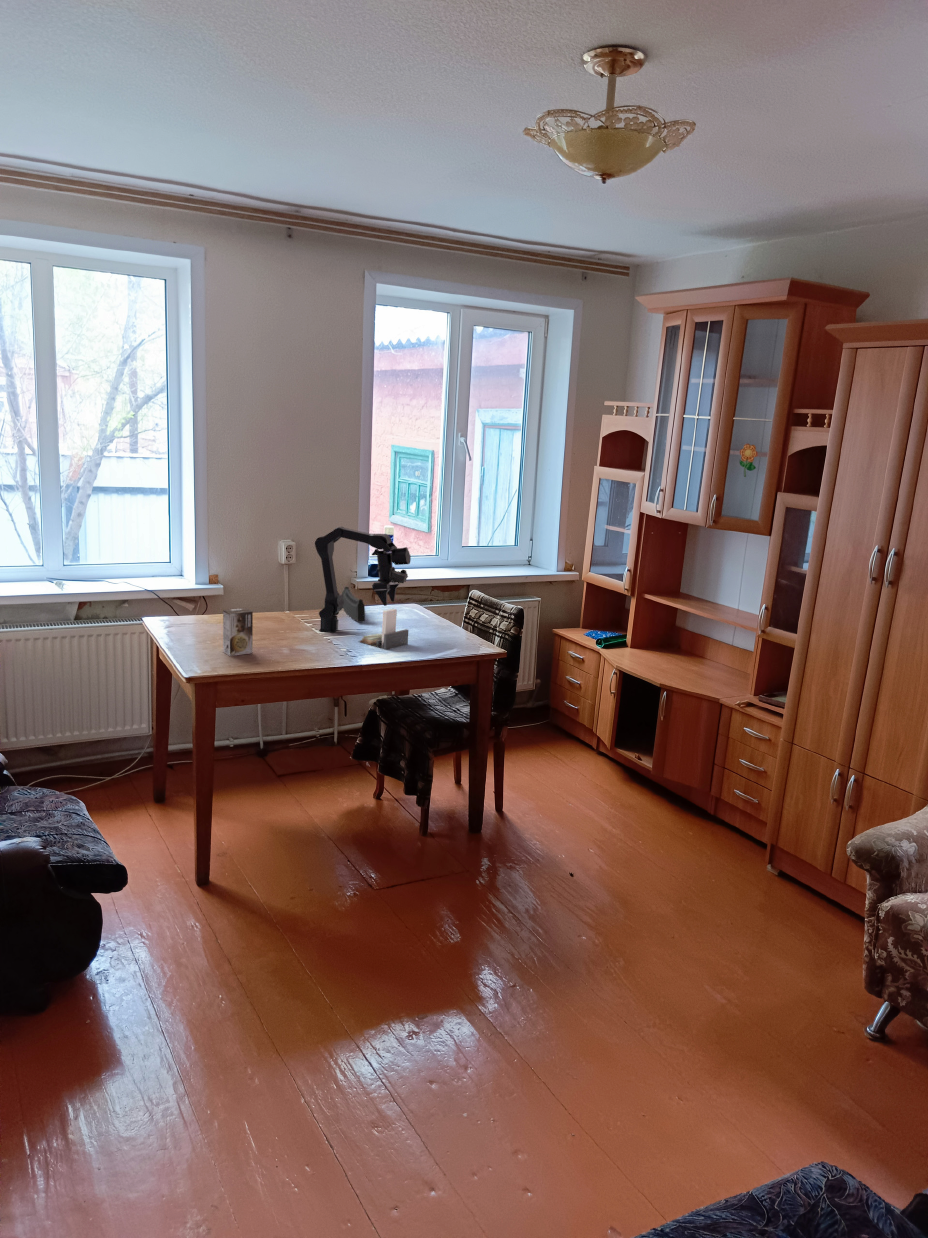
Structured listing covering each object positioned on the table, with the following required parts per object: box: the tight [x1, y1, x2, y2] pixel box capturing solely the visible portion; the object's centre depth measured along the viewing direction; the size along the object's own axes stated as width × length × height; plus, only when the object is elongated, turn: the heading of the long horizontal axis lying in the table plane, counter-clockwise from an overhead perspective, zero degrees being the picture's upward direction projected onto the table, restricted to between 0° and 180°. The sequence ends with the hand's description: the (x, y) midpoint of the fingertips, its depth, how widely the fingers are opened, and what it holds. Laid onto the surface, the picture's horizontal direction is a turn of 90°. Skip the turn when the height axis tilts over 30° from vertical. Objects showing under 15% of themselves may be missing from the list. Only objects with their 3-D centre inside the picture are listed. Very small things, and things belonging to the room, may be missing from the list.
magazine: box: [341, 586, 366, 623], centre depth 392 cm, size 17×3×30 cm
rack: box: [358, 628, 410, 651], centre depth 347 cm, size 15×13×7 cm
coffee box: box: [222, 607, 254, 657], centre depth 321 cm, size 9×6×16 cm
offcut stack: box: [359, 633, 382, 646], centre depth 350 cm, size 6×11×2 cm, turn 143°
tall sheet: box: [381, 608, 398, 646], centre depth 344 cm, size 2×6×14 cm, turn 143°
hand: (389, 603), depth 356 cm, fingers open, 9 cm apart
